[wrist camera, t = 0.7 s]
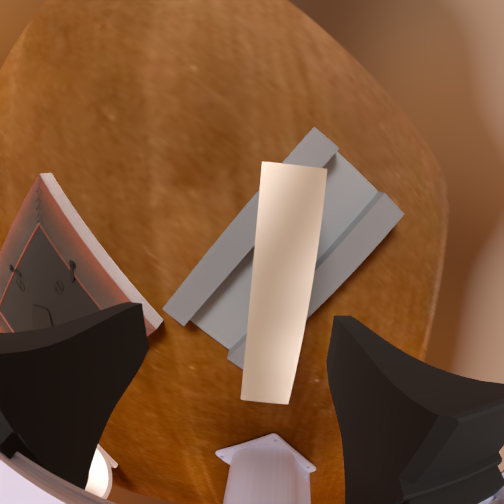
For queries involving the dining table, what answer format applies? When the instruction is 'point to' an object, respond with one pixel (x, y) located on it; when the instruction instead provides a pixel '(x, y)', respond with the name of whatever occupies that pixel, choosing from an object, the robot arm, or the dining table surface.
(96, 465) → the headphone stand
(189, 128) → the dining table surface
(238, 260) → the grooved channel
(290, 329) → the frame
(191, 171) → the dining table surface
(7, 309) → the picture frame
